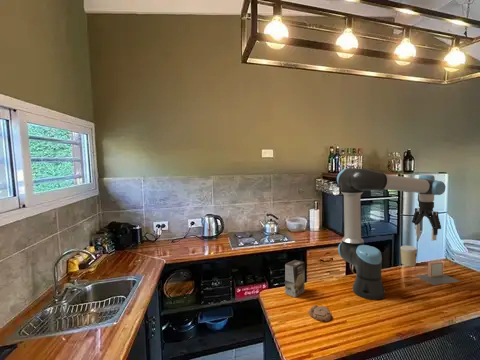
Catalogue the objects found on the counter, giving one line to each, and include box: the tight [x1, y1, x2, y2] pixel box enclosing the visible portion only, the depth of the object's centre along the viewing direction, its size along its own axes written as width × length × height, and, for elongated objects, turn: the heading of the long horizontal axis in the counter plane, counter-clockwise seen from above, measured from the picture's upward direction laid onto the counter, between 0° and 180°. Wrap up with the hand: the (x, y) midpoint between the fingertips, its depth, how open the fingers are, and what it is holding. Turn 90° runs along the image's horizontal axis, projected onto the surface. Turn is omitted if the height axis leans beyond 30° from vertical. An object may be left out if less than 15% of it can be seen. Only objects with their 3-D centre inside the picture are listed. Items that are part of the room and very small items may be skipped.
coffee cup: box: [400, 245, 418, 267], centre depth 173 cm, size 9×9×12 cm
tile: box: [427, 260, 444, 277], centre depth 155 cm, size 8×2×8 cm, turn 101°
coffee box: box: [284, 259, 306, 298], centre depth 141 cm, size 9×6×16 cm
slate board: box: [415, 273, 461, 286], centre depth 152 cm, size 18×12×1 cm, turn 101°
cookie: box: [308, 304, 333, 323], centre depth 120 cm, size 10×11×3 cm
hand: (425, 237), depth 160 cm, fingers open, 10 cm apart
